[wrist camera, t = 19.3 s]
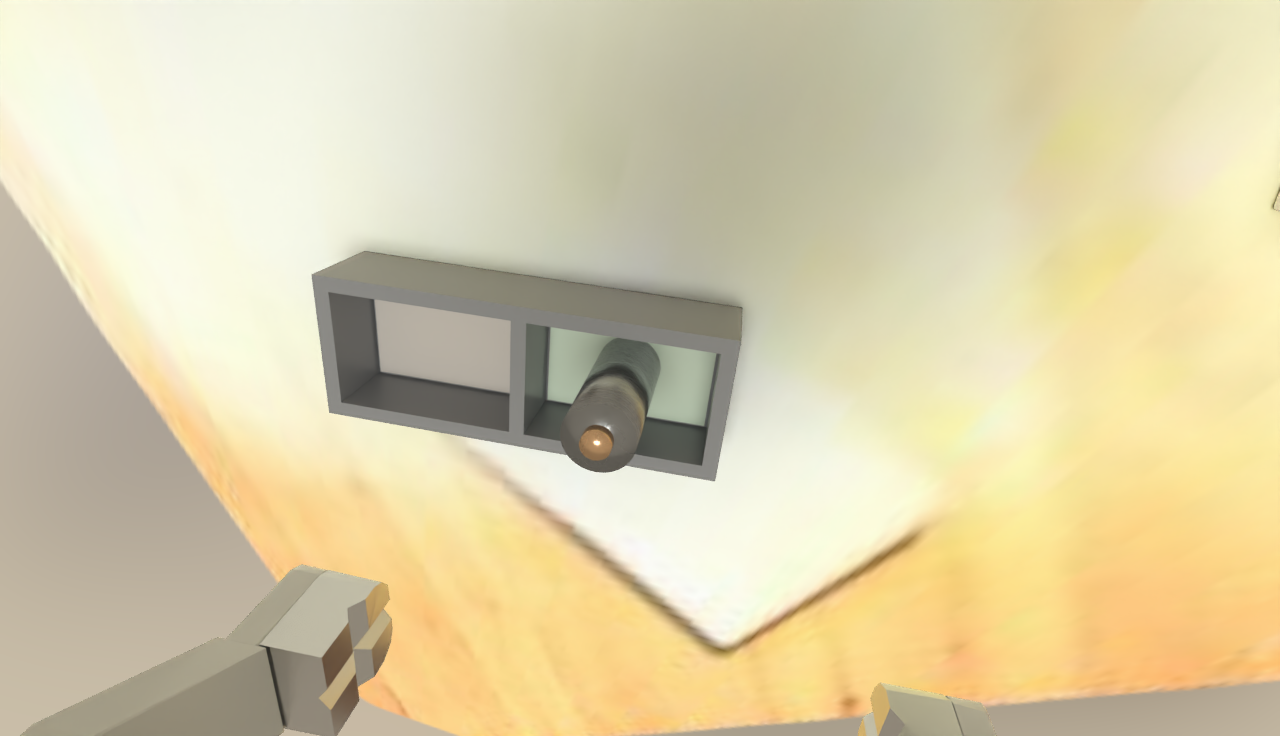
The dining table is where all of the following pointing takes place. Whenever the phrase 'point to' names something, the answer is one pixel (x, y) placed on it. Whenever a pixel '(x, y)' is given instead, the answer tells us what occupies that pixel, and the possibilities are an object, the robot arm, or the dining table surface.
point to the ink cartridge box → (1277, 203)
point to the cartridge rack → (517, 355)
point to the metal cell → (611, 406)
